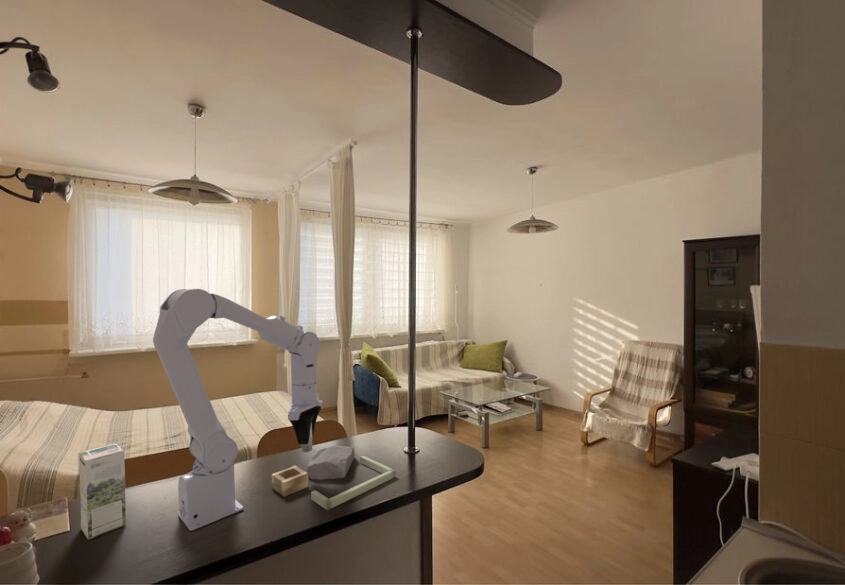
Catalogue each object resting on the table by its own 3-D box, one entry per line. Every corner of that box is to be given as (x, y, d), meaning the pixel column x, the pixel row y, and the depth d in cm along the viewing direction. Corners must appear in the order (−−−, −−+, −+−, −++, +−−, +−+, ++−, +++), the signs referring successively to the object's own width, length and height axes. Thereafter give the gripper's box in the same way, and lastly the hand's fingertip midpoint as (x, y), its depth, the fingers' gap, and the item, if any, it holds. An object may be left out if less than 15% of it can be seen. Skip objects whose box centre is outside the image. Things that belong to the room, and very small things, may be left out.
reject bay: (327, 510, 77) (327, 502, 77) (296, 489, 85) (296, 482, 85) (395, 476, 90) (395, 470, 90) (363, 461, 98) (363, 455, 98)
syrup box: (118, 515, 77) (115, 441, 77) (127, 526, 74) (124, 448, 73) (80, 529, 73) (77, 451, 73) (87, 541, 69) (84, 459, 69)
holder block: (284, 496, 82) (283, 482, 82) (272, 487, 86) (271, 474, 86) (308, 486, 86) (307, 473, 86) (295, 478, 90) (295, 465, 90)
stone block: (305, 488, 90) (348, 479, 89) (301, 467, 90) (343, 458, 90) (320, 466, 101) (358, 458, 101) (316, 448, 102) (353, 439, 101)
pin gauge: (309, 452, 90) (308, 417, 90) (299, 451, 90) (299, 417, 90) (314, 448, 92) (313, 414, 92) (304, 447, 93) (303, 413, 93)
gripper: (310, 390, 84) (312, 454, 84) (330, 375, 98) (331, 429, 98) (278, 390, 84) (279, 454, 84) (302, 375, 99) (303, 429, 99)
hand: (305, 441), depth 91 cm, fingers closed on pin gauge, 2 cm apart
